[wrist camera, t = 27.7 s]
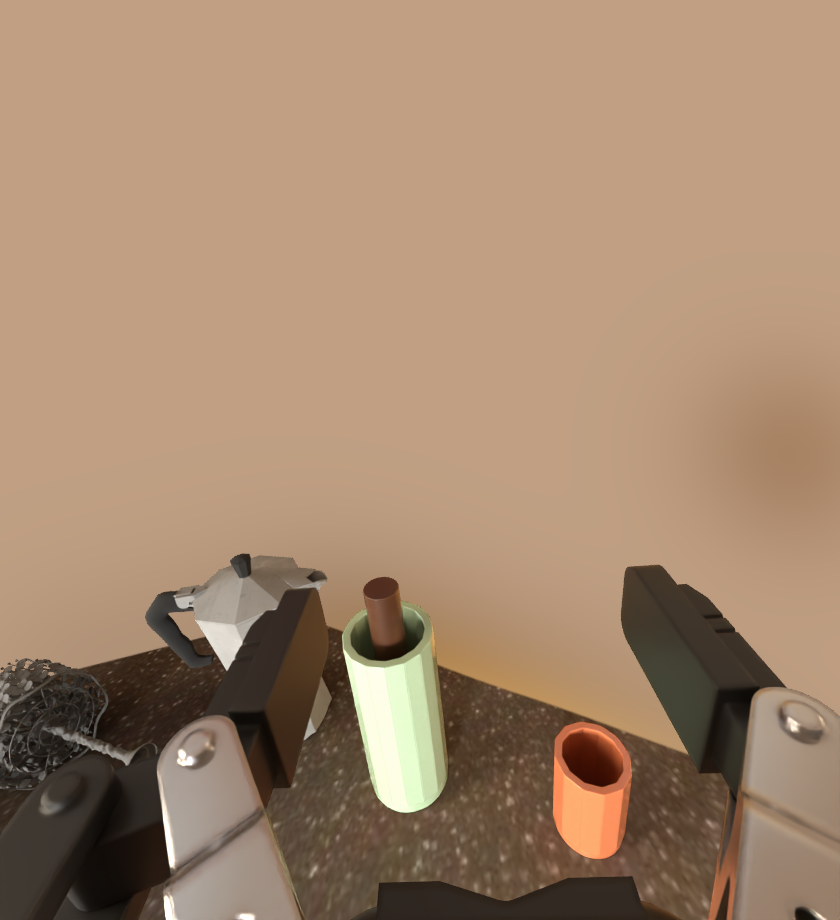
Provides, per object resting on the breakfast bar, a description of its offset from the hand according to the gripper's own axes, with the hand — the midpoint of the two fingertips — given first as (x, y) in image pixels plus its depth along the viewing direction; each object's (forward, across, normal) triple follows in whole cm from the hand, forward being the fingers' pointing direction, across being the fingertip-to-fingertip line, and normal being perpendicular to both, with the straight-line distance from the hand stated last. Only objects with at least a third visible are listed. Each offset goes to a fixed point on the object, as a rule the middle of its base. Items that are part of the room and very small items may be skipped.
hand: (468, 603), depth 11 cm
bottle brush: (+14, +6, +29) cm, 33 cm away
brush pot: (+11, -8, +30) cm, 32 cm away
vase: (+15, +6, +30) cm, 33 cm away
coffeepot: (+20, +19, +30) cm, 41 cm away
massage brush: (+16, +37, +30) cm, 50 cm away
